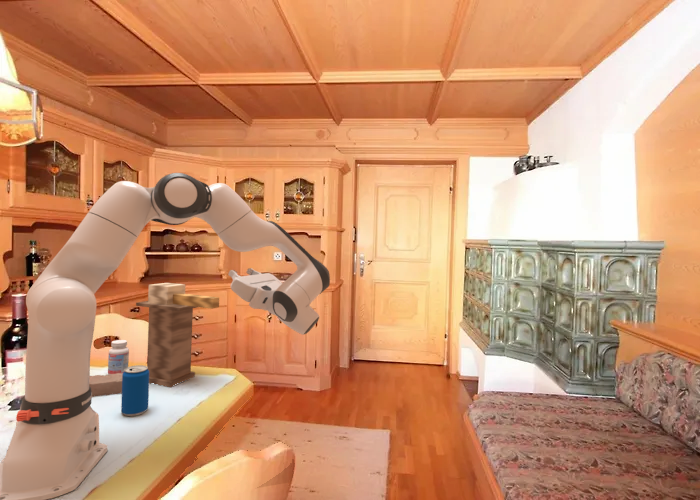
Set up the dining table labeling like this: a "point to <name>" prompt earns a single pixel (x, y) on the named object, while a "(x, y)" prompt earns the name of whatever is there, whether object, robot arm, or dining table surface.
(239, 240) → the robot arm
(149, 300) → the beech mallet
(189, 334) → the walnut shelf post
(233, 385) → the dining table surface
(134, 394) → the beverage can
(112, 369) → the pill bottle
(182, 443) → the dining table surface
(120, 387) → the brick
